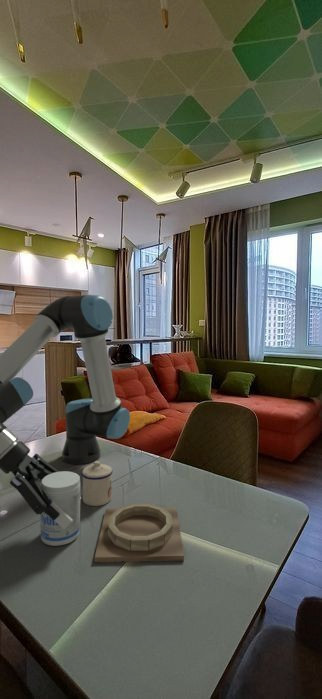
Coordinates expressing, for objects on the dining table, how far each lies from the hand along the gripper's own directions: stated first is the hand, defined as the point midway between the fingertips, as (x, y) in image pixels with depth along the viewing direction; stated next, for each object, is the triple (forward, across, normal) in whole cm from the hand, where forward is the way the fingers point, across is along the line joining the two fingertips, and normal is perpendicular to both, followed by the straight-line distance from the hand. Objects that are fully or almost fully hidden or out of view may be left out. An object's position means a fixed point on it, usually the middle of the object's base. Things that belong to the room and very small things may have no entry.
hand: (73, 512), depth 84 cm
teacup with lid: (+6, -19, -2) cm, 20 cm away
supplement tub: (+2, 0, -6) cm, 7 cm away
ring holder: (+16, 0, +8) cm, 18 cm away
